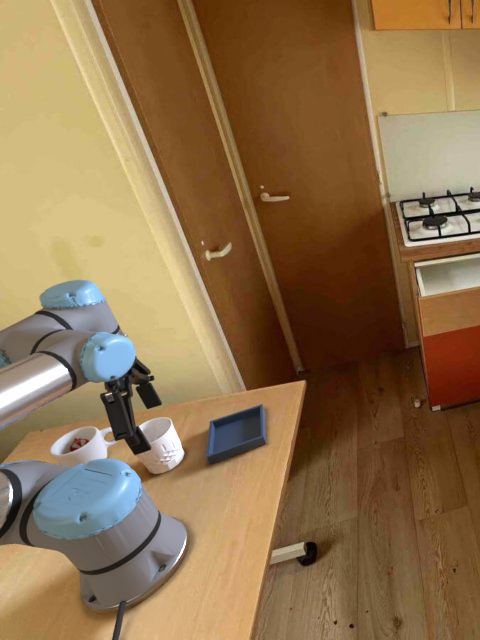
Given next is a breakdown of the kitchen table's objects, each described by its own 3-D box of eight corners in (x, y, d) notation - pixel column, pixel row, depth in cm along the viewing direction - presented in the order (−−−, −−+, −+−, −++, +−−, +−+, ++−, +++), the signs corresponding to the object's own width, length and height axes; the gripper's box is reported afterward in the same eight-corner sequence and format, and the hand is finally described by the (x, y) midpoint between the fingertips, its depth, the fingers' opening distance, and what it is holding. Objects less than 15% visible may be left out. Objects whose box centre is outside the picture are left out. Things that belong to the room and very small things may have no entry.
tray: (266, 443, 102) (263, 436, 100) (209, 464, 97) (205, 457, 95) (265, 410, 111) (262, 403, 109) (213, 428, 106) (209, 421, 104)
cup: (123, 435, 103) (109, 412, 100) (132, 453, 99) (117, 430, 95) (63, 466, 96) (46, 442, 92) (70, 487, 92) (51, 463, 88)
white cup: (155, 482, 93) (137, 452, 88) (139, 466, 96) (120, 436, 91) (194, 455, 99) (178, 426, 94) (177, 441, 102) (161, 411, 97)
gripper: (113, 388, 74) (160, 465, 84) (141, 314, 94) (177, 384, 104) (57, 404, 71) (113, 482, 81) (98, 324, 90) (139, 395, 101)
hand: (149, 427), depth 93 cm, fingers open, 13 cm apart
